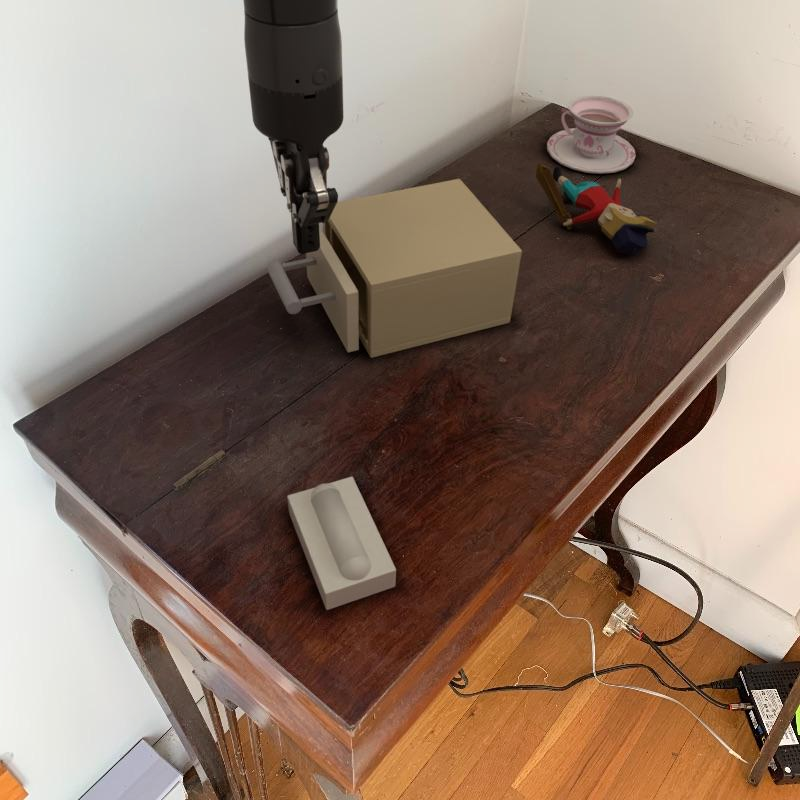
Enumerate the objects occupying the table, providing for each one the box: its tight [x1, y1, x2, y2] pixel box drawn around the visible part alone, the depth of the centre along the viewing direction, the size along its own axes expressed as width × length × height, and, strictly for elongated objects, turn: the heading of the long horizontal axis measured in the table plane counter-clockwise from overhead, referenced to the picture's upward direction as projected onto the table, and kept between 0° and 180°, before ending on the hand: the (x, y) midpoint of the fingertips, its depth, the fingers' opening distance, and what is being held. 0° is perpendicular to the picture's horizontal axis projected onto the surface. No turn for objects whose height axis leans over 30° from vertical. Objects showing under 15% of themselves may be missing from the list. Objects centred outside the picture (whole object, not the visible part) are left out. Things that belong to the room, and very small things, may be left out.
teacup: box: [546, 95, 637, 175], centre depth 107 cm, size 12×12×6 cm
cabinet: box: [322, 178, 523, 359], centre depth 83 cm, size 16×14×9 cm
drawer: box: [266, 225, 369, 353], centre depth 81 cm, size 20×13×7 cm, turn 112°
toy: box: [535, 161, 658, 256], centre depth 94 cm, size 9×6×15 cm
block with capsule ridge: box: [286, 476, 397, 611], centre depth 63 cm, size 10×6×4 cm, turn 22°
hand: (307, 248), depth 76 cm, fingers closed
